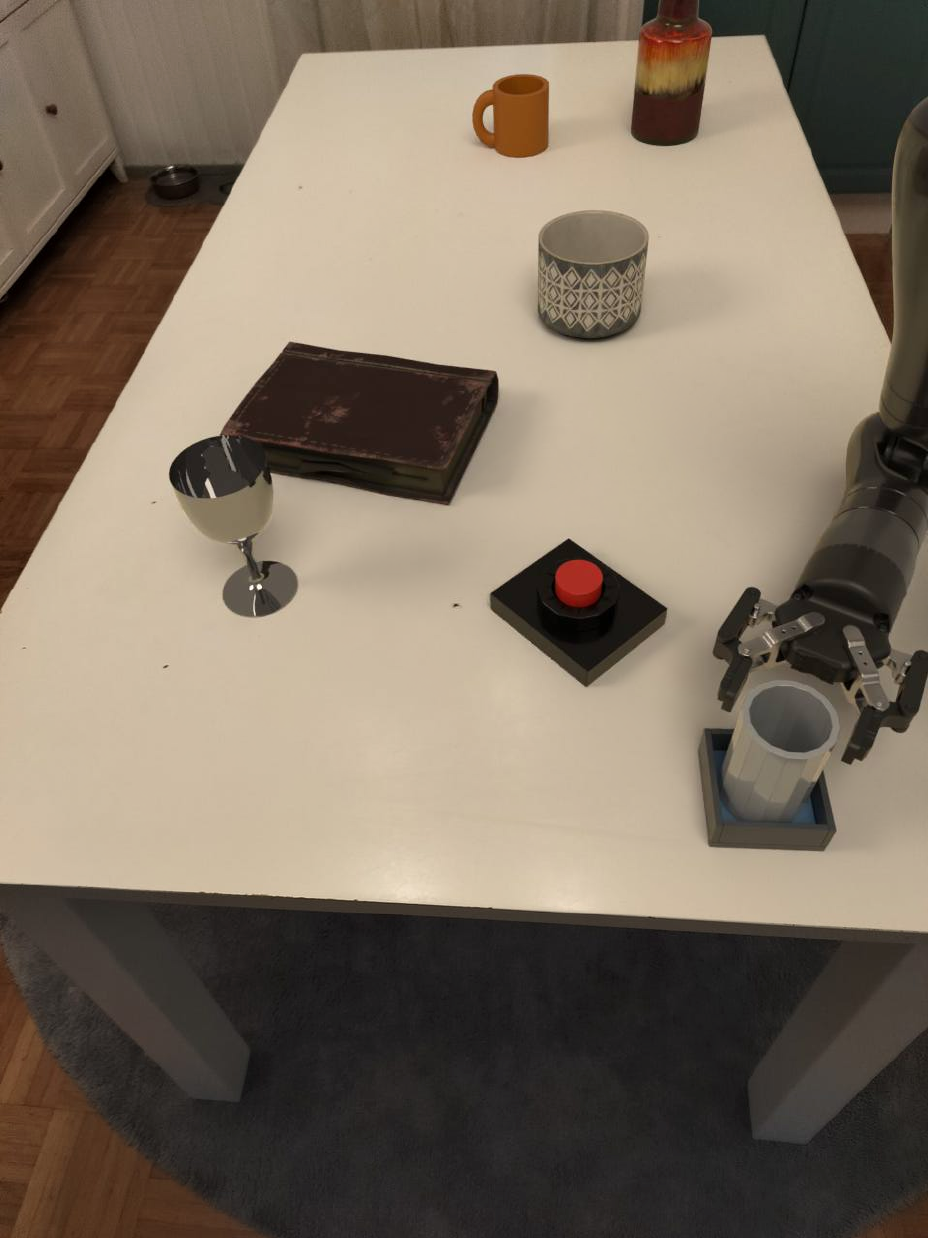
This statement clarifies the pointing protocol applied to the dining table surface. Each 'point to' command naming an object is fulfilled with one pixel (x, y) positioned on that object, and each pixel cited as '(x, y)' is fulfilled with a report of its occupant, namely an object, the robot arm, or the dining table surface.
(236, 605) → the wine glass
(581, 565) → the button
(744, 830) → the tray
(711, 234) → the dining table surface
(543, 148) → the mug
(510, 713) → the dining table surface
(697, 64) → the vase
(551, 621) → the control block
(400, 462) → the diary
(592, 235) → the planter
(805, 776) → the tumbler
